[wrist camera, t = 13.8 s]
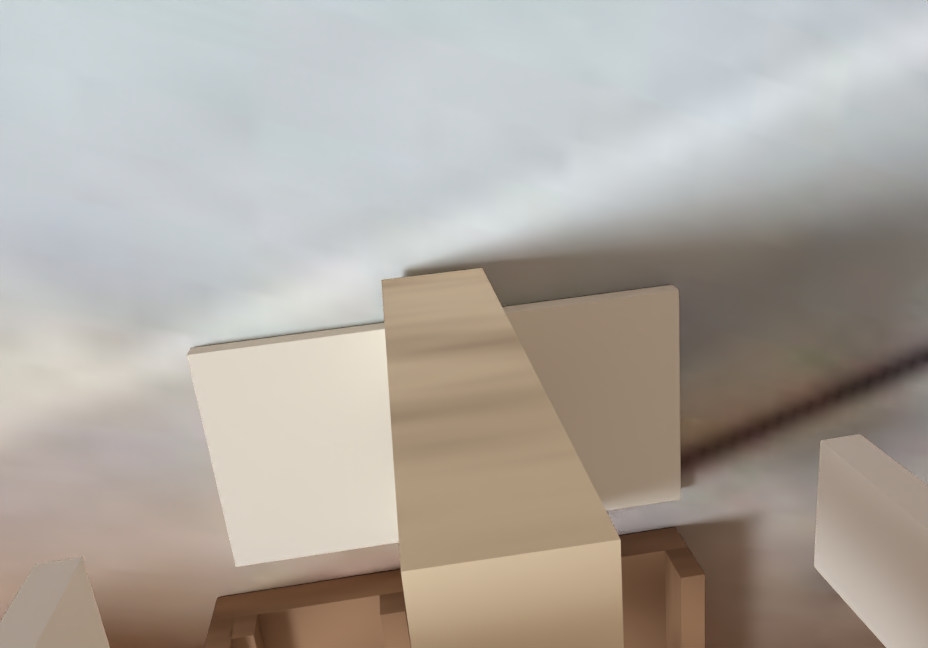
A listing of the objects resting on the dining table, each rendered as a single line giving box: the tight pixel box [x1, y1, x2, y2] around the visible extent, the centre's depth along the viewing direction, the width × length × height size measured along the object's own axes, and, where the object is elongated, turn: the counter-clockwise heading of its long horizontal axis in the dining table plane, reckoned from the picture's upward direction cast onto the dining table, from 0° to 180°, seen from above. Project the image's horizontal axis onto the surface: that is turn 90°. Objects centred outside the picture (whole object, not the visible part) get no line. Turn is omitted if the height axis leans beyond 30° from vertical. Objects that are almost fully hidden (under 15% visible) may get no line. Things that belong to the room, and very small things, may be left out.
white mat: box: [187, 285, 681, 567], centre depth 26 cm, size 8×15×1 cm, turn 96°
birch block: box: [382, 268, 624, 648], centre depth 19 cm, size 9×3×14 cm, turn 5°
